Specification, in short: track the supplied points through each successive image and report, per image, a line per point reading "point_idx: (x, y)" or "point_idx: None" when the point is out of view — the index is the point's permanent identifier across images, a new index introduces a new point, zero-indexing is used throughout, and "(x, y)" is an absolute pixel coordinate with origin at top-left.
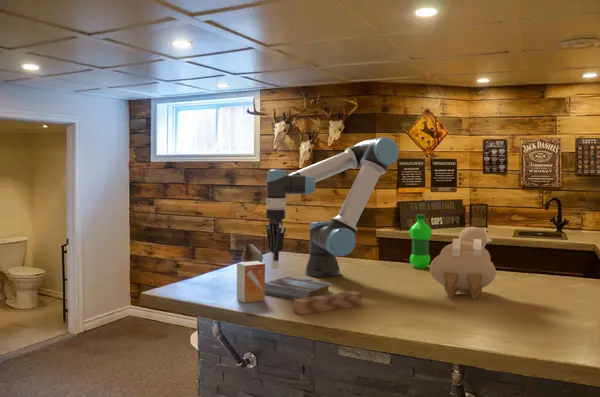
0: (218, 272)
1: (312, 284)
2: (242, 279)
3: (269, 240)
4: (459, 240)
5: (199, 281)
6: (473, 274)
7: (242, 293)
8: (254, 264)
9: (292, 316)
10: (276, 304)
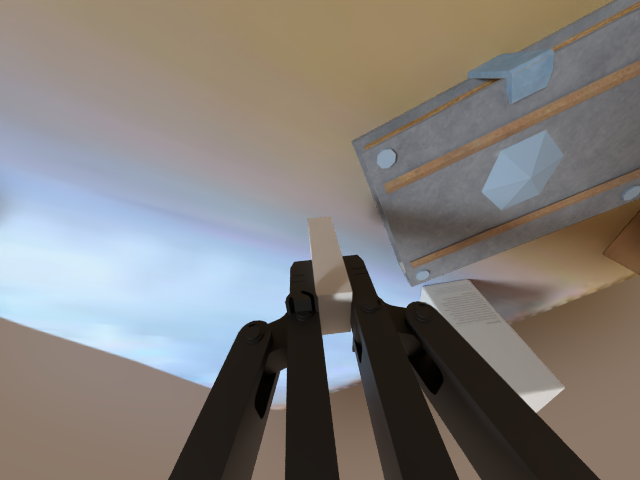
0: (19, 312)
1: (602, 118)
2: None
3: (251, 462)
4: None
5: (189, 358)
6: None
7: None
8: (540, 407)
9: (617, 266)
10: (521, 266)
